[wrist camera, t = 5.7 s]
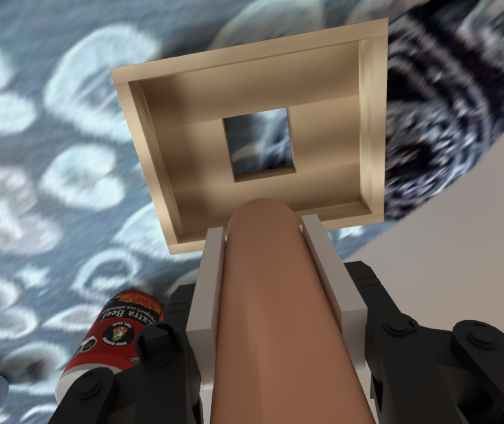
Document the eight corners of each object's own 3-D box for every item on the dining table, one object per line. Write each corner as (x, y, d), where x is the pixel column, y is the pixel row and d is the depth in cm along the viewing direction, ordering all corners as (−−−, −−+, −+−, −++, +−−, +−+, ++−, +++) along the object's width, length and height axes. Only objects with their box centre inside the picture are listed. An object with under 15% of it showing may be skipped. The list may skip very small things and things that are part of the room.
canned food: (171, 296, 37) (144, 378, 27) (159, 341, 40) (131, 430, 30) (108, 282, 36) (55, 362, 26) (101, 329, 39) (51, 417, 29)
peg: (221, 203, 16) (177, 485, 5) (295, 193, 16) (418, 457, 5) (233, 264, 18) (220, 575, 7) (300, 255, 17) (399, 557, 6)
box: (135, 71, 26) (109, 69, 21) (359, 29, 25) (388, 17, 20) (181, 227, 33) (170, 254, 28) (361, 199, 32) (383, 221, 27)
